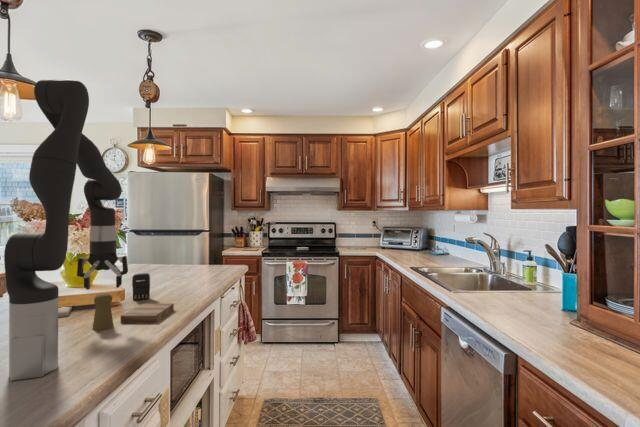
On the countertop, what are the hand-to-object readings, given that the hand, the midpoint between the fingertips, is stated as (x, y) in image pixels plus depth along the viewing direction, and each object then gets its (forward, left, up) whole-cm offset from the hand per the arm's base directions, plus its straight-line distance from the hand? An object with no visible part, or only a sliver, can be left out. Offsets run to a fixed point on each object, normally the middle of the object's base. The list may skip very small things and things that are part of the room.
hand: (103, 288), depth 118 cm
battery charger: (+37, -8, -13) cm, 40 cm away
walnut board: (+9, -13, -13) cm, 20 cm away
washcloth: (+27, +21, -14) cm, 37 cm away
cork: (0, 0, -13) cm, 13 cm away
